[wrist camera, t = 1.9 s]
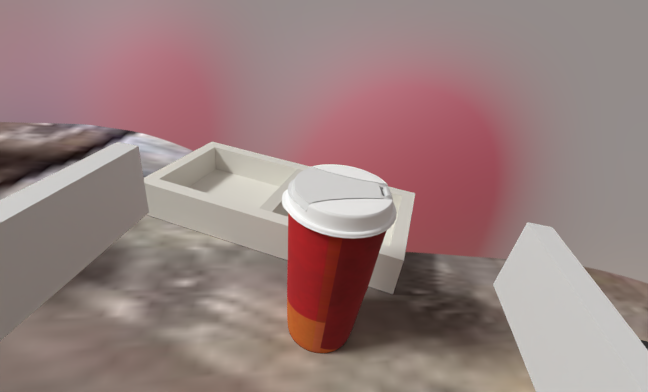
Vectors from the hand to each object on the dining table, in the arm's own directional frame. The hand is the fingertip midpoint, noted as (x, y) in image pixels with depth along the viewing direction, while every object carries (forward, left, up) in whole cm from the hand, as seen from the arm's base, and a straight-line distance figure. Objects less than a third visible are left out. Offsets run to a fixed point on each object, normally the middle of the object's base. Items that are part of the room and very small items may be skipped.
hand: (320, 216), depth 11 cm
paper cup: (+7, -7, -18) cm, 21 cm away
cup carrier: (+23, -11, -18) cm, 31 cm away
